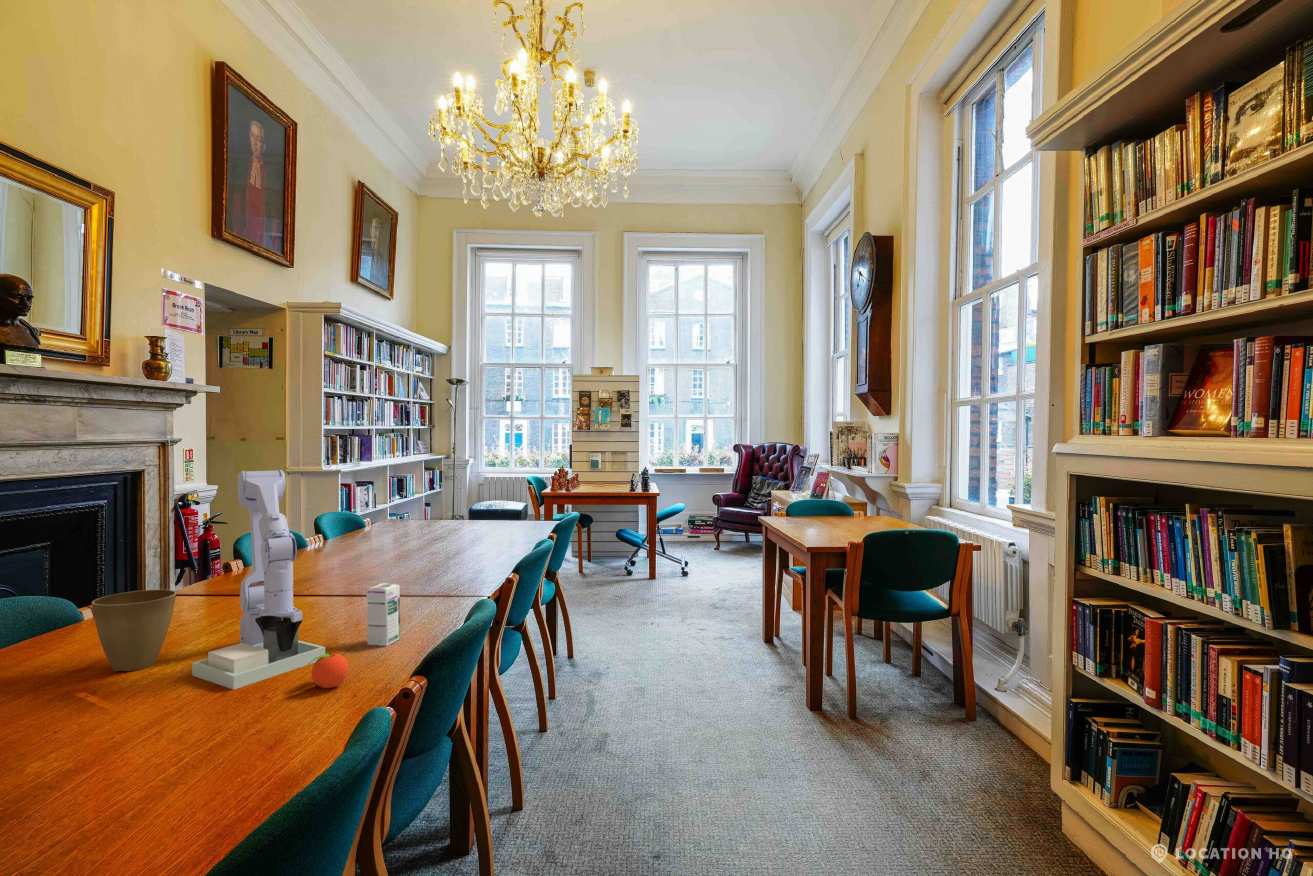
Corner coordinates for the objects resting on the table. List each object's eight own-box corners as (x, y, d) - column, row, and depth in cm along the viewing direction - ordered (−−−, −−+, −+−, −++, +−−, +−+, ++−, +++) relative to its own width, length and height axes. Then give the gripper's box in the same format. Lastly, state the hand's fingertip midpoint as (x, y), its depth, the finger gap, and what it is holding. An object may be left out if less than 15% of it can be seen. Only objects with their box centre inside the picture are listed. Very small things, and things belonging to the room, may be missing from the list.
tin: (263, 660, 143) (263, 629, 144) (284, 653, 148) (285, 624, 148) (276, 663, 141) (276, 632, 141) (297, 657, 146) (298, 627, 146)
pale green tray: (192, 679, 136) (192, 662, 136) (283, 651, 153) (283, 636, 153) (233, 693, 128) (233, 676, 128) (325, 662, 146) (325, 647, 146)
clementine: (304, 697, 126) (304, 662, 126) (306, 685, 132) (306, 651, 132) (349, 690, 130) (349, 655, 130) (348, 678, 136) (348, 645, 136)
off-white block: (208, 675, 136) (208, 652, 136) (242, 664, 142) (242, 642, 142) (234, 683, 131) (234, 660, 131) (268, 672, 137) (268, 649, 137)
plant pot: (158, 674, 138) (158, 602, 138) (76, 682, 134) (75, 607, 134) (187, 652, 152) (187, 586, 152) (114, 658, 148) (114, 590, 148)
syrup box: (387, 646, 156) (387, 588, 156) (366, 645, 158) (366, 587, 158) (400, 639, 162) (400, 583, 162) (380, 637, 163) (380, 582, 163)
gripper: (242, 589, 144) (242, 648, 144) (280, 597, 137) (280, 659, 137) (273, 583, 150) (273, 639, 150) (311, 590, 143) (311, 649, 143)
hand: (278, 648), depth 144 cm, fingers closed on tin, 5 cm apart
